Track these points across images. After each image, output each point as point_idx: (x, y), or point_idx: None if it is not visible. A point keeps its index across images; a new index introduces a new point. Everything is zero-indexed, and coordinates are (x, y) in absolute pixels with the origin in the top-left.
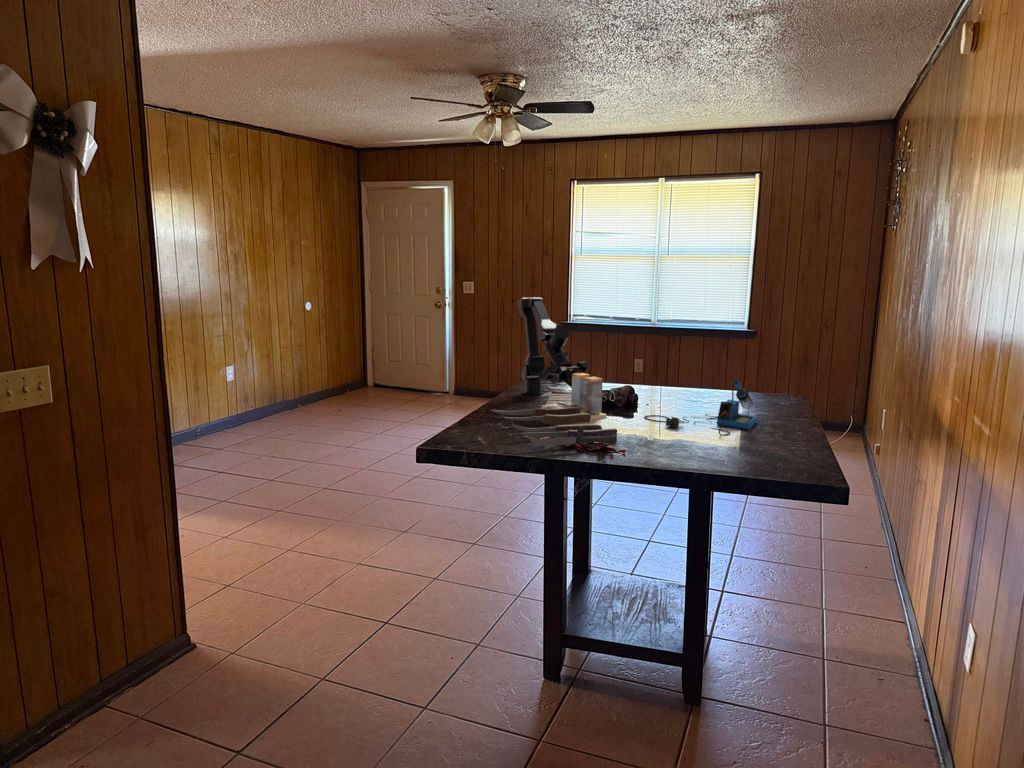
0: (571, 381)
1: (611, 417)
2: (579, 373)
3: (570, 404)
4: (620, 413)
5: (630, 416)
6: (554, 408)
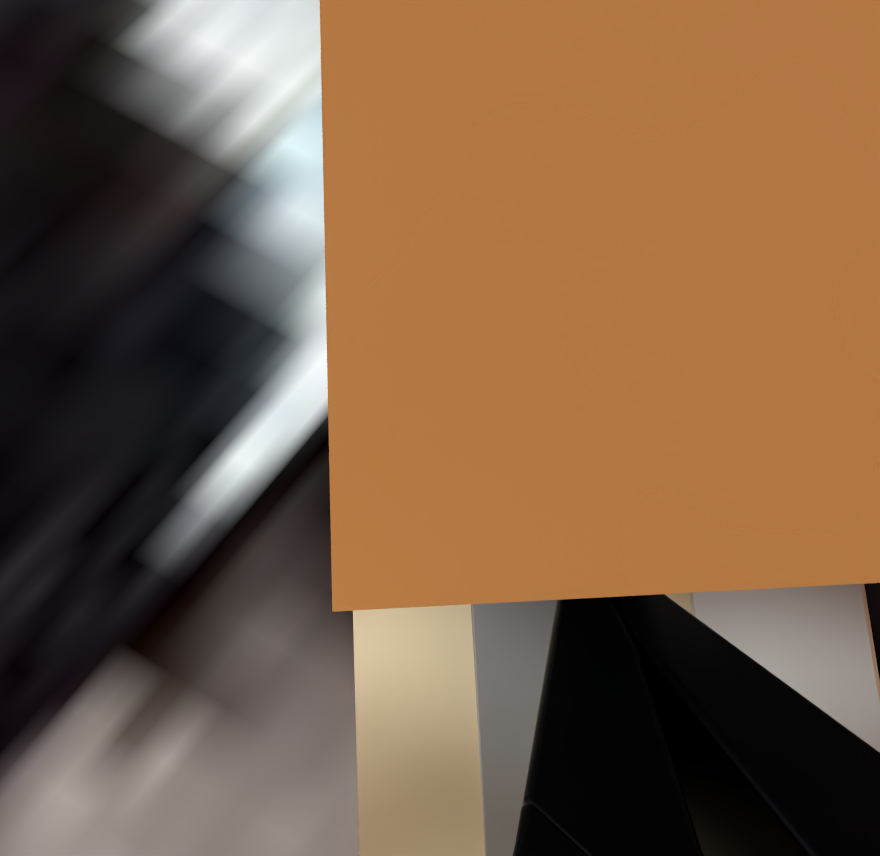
0: (848, 754)
1: (278, 77)
2: (808, 322)
3: (509, 762)
4: (8, 180)
5: (28, 2)
6: (865, 737)
